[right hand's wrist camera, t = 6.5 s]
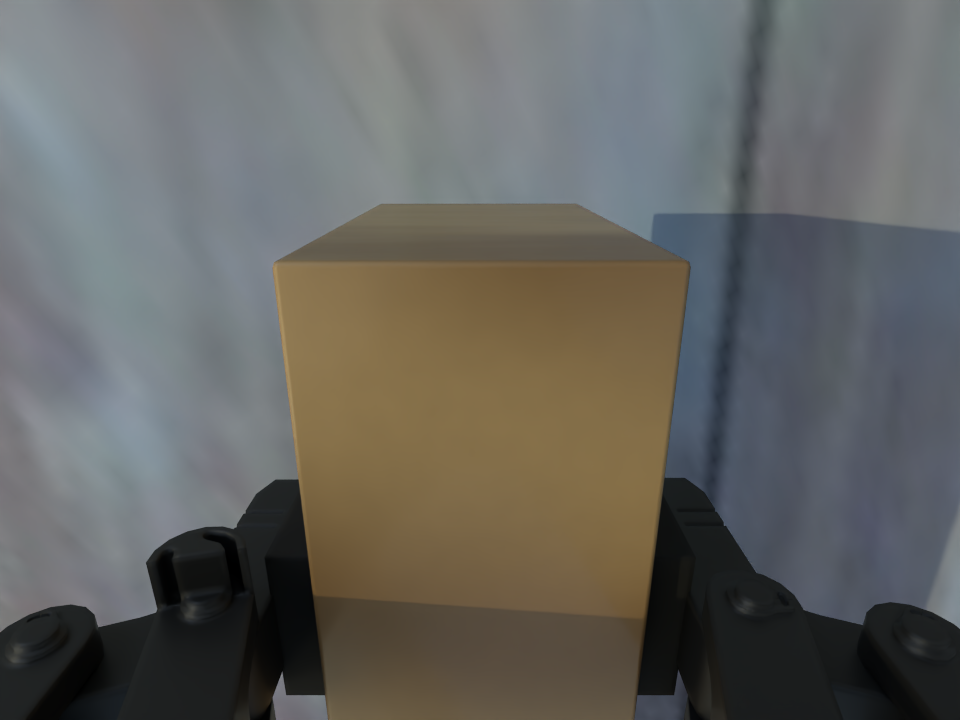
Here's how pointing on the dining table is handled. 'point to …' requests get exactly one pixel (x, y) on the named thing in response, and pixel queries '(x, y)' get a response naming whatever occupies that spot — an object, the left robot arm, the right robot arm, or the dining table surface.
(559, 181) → the dining table surface
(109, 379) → the dining table surface
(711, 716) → the right robot arm
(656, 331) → the post
